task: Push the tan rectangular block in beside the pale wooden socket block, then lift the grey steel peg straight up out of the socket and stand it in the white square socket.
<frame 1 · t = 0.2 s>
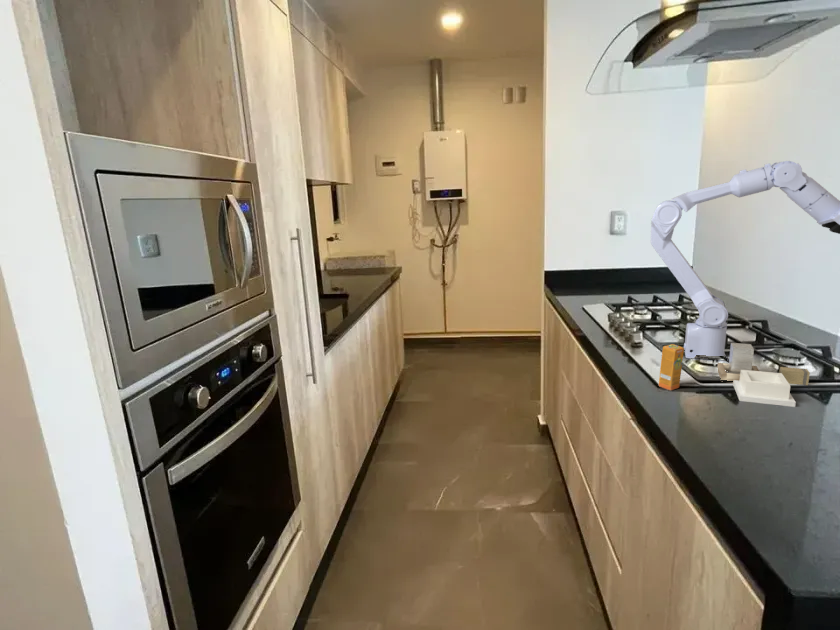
supplement box: (669, 388, 111), on the worktop
white square socket: (762, 395, 104), on the worktop
tan rectangular block: (793, 375, 110), point 2 cm above the worktop, slide at 0.0 cm
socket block: (738, 377, 114), on the worktop
steel peg: (740, 362, 113), in the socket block
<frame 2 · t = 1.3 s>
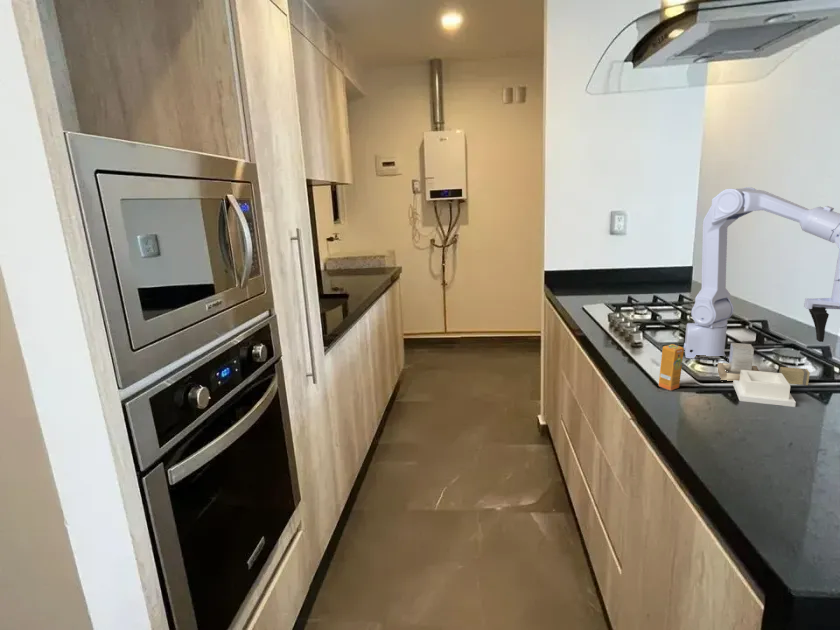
nothing on the worktop moved.
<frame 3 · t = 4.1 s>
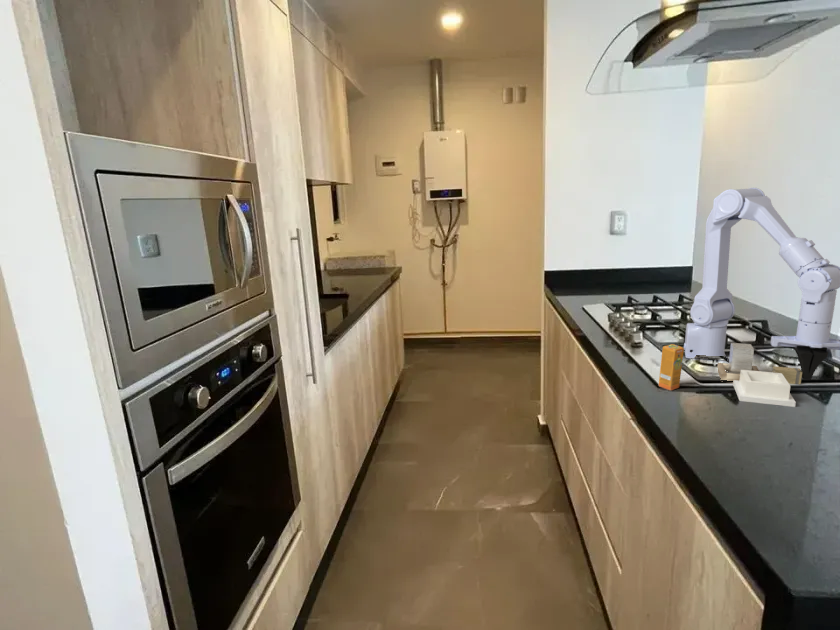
hand: (806, 378, 109), 1 cm above the worktop, tool pointing down, fingers closed
tan rectangular block: (786, 375, 110), point 2 cm above the worktop, slide at 1.4 cm, touching gripper
everything else where it was.
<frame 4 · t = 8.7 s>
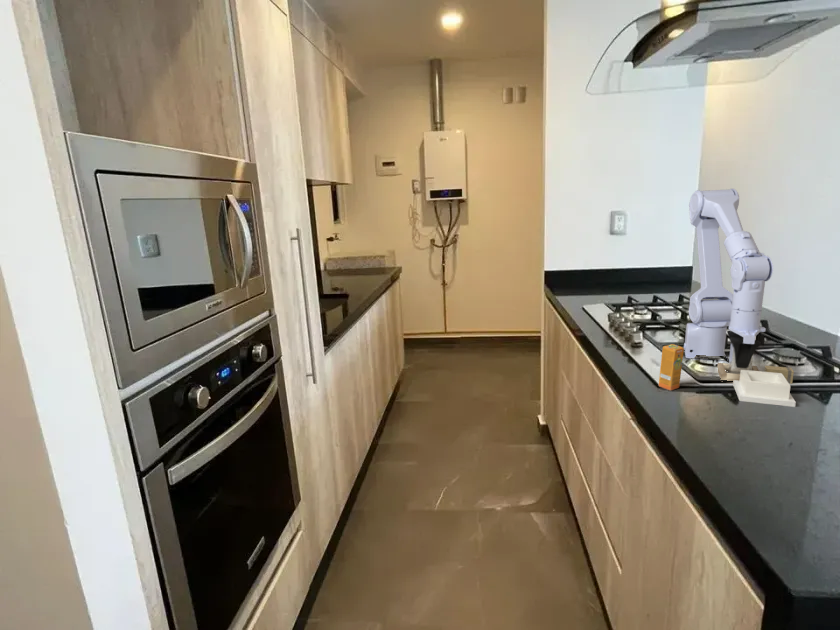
hand: (740, 364, 114), 3 cm above the worktop, tool pointing down, fingers closed on steel peg, 4 cm apart
tan rectangular block: (778, 374, 111), point 2 cm above the worktop, slide at 2.9 cm
steel peg: (740, 362, 113), in the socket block, touching gripper
everything else where it was.
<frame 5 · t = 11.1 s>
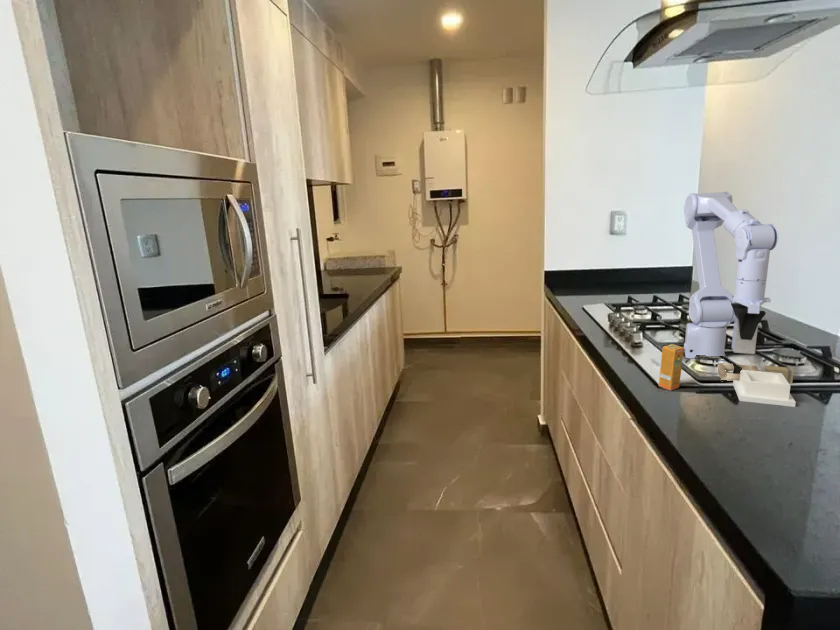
hand: (744, 336, 111), 10 cm above the worktop, tool pointing down, fingers closed on steel peg, 4 cm apart
steel peg: (744, 334, 111), point 11 cm above the worktop, touching gripper
everything else where it was.
when the fingers open (6 cm above the worktop, at t = 13.8 s): steel peg stays where it is, resting on white square socket.
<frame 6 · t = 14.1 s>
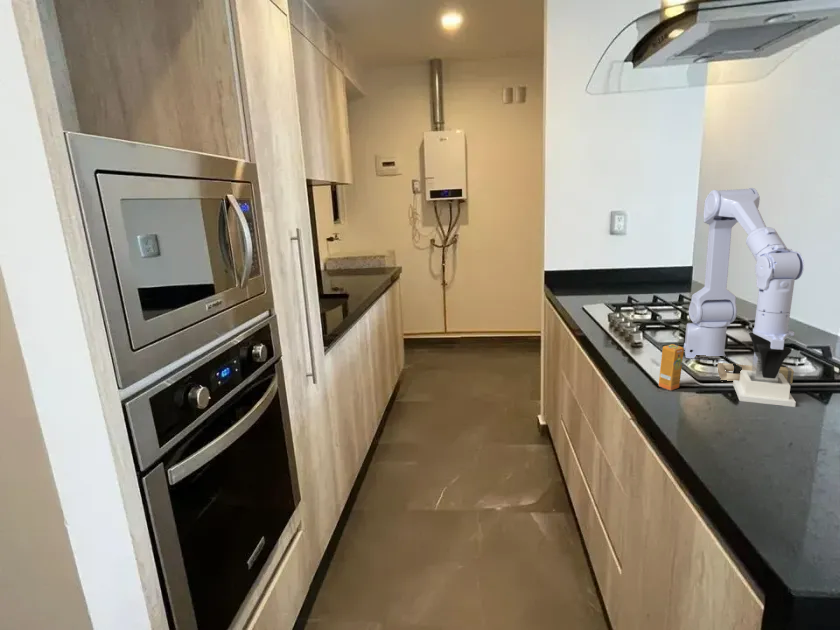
hand: (765, 371, 103), 6 cm above the worktop, tool pointing down, fingers open, 7 cm apart
steel peg: (764, 373, 103), in the white square socket, point 5 cm above the worktop
everything else where it was.
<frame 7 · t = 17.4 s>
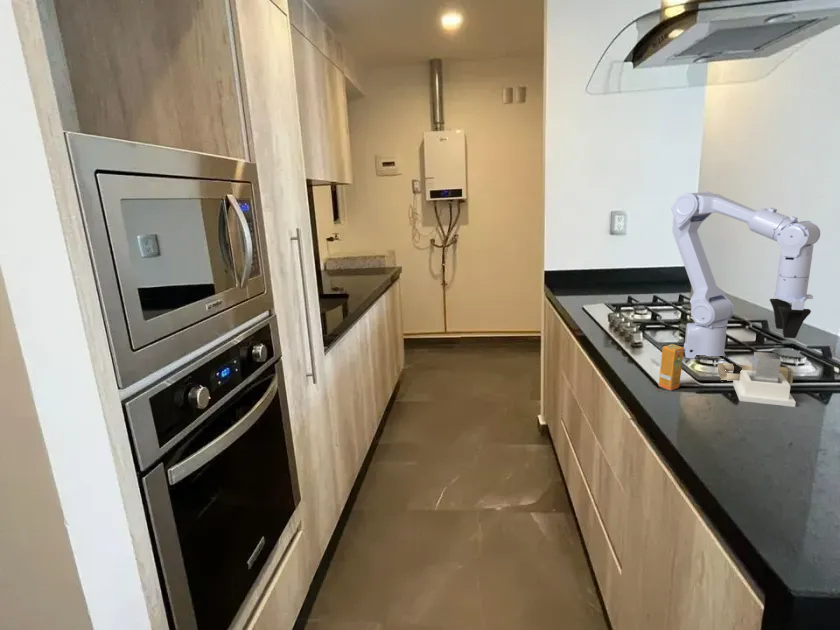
hand: (785, 333, 112), 10 cm above the worktop, tool pointing down, fingers open, 7 cm apart
nothing on the worktop moved.
at the end: tan rectangular block slide at 2.9 cm; steel peg 0.0 cm off-centre on the white square socket, point 5.2 cm above the white square socket's base; steel peg tilted 0° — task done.
